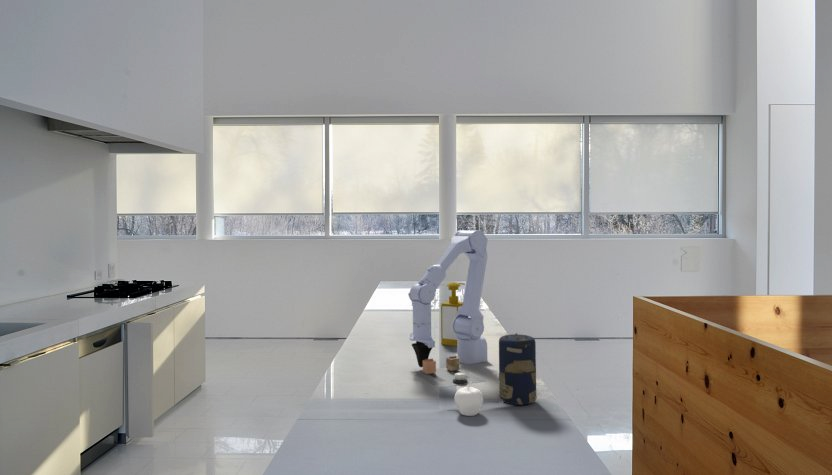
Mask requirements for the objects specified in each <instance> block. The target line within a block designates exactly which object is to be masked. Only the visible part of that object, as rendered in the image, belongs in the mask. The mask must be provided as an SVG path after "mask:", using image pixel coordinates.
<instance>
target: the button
mask: <svg viewBox="0 0 832 475" xmlns="http://www.w3.org/2000/svg"><path fill="white" fill-rule="evenodd" d="M455 380H465V373H455Z"/></svg>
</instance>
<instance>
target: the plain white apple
mask: <svg viewBox="0 0 832 475" xmlns="http://www.w3.org/2000/svg"><path fill="white" fill-rule="evenodd" d="M472 384H473V383H472V382H470V384H468V386H465V387H461V388H459V389H457V391H456V392H455V394H454V403H455V406H456V408H457V410H458V412H459V414H460V415H462V416H468V417H474V416H476V415H478V413H479V412H480V410H481V409H482V406H483V404H484V395H483V393H482V391H481V390H480V389H478V388H476V387H472V386H471V385H472Z"/></svg>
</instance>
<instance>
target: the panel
mask: <svg viewBox="0 0 832 475" xmlns="http://www.w3.org/2000/svg"><path fill="white" fill-rule="evenodd" d="M412 373H413V374H415V375H417V376H418V377H419V378H421V379H423V380H425V381H426V382H428V383H430V384H432V385H433V386H435V387H436V388H438V389H440V388H449V387H454V386H456V387H457V386H461V385H469V384H470V382H472V383H471V384H478V383H483V382H486V380H484V379H483V378H481V377H478V376H476V375H474V374H473V373H470V372H468V371H466V370H464V369H462V368H460V367H459V370H454V371H450V370H448V369H446V367H441V368H436V373H431V374H426V373H424V372H423V370H417V371H416V370H415V371H412ZM455 373H465V380H455Z"/></svg>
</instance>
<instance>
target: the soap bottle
mask: <svg viewBox="0 0 832 475" xmlns="http://www.w3.org/2000/svg"><path fill="white" fill-rule="evenodd" d="M462 285H464V286H466V283H462V282H453V281H452V282H449V283H447V285H446V287H448V290H449V291H451V295H449V296H448V301H447V302H446V301H445V302H443V303H440V323H441V324H440V331H441V336H440V337H441V339H440V341H441V344H440V345H445V346H453V347H457V337H456V333H455V332H454V331H453V327H452V324H453V321H454V319H455V317H456V314H457V311H458V310H459V309H460V308H461V307H462V306H463V301H459V295H456V294H457V291H458V290H459V287H461V286H462Z"/></svg>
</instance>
